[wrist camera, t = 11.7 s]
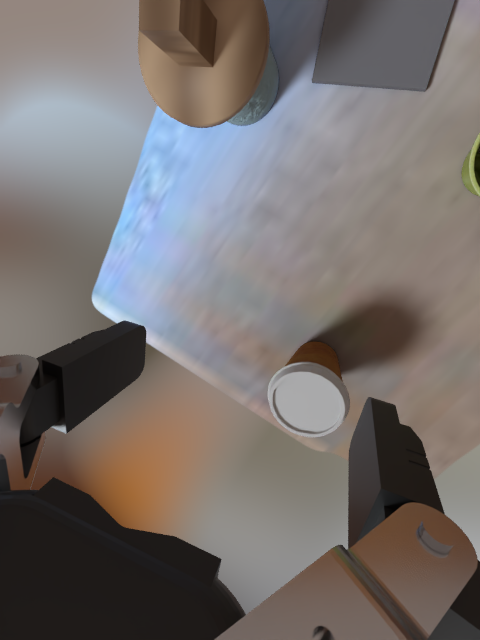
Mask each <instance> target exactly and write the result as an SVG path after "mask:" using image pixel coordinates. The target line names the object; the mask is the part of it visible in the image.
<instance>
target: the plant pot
mask: <svg viewBox="0 0 480 640" xmlns="http://www.w3.org/2000/svg"><path fill="white" fill-rule="evenodd" d="M479 148H480V133H479V134H478V136H477V138H476V140H475V142H474V144H473V147H472V150H471V151H470V152H469V154H468V155H467V157H466V159H465V161H464V164H463V167H462V180H463V183H464V185H465V187H466V188H467V189H468V190H469V191H470V192H471V193H473V194H475V195H477V196H480V153H478V150H479Z"/></svg>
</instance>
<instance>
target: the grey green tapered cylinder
mask: <svg viewBox="0 0 480 640" xmlns="http://www.w3.org/2000/svg"><path fill="white" fill-rule="evenodd" d="M278 86H279V72H278V68H277V64H276V61H275V58H274V56H273V53H272V50H271V48H270V46H269V52H268V57H267V63H266V66H265V70H264V73H263V76H262V78H261V81H260V83H259V85H258V87H257V89H256V91H255V93H254V94H253V96H252V97H251V99H250V100H249V102H248V103H247V104H246V105H245V106H244V108H243V109H242V110H241V111H240V112H238V113H237V114H236V115H235V116H234V117H232V118H231V119H229V120H228V121H227V122H229V123H231V124H234V125H238V126H246V125H250V124H253V123H255V122H257V121H259V120H260V119H262V118H263V117H264V116H265V115H266V114H267V113H268V111H269V110H270V109H271V107H272V105H273V103H274V101H275V98H276V95H277V91H278Z"/></svg>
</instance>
